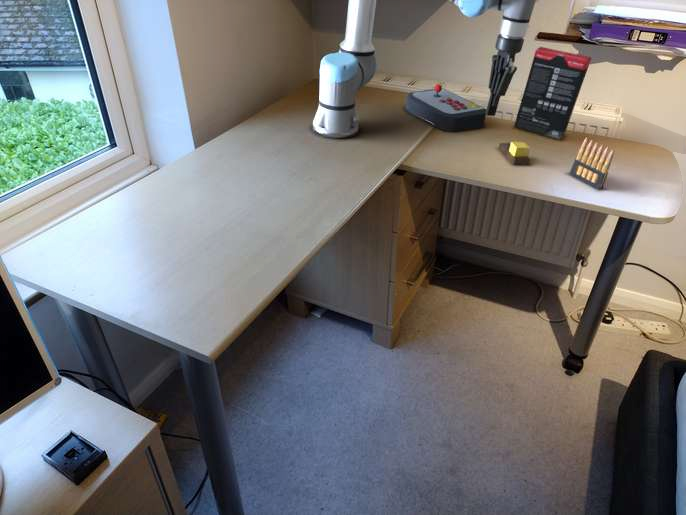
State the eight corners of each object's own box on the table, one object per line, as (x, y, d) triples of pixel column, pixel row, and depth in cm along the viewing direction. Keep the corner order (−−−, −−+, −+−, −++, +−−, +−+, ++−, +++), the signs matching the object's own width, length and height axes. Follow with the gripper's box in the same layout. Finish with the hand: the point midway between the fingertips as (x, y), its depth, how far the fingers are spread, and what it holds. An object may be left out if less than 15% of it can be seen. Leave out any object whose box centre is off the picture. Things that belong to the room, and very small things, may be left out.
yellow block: (508, 150, 160) (511, 141, 158) (521, 150, 161) (523, 142, 159) (514, 156, 157) (516, 147, 155) (526, 156, 157) (529, 147, 155)
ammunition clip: (602, 188, 147) (618, 150, 140) (598, 190, 146) (614, 151, 139) (572, 173, 154) (586, 135, 147) (568, 174, 153) (582, 136, 146)
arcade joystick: (398, 106, 192) (401, 80, 186) (437, 101, 200) (442, 75, 194) (445, 134, 173) (451, 105, 167) (487, 126, 181) (493, 98, 175)
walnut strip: (498, 148, 166) (500, 142, 165) (512, 148, 167) (514, 142, 165) (513, 165, 156) (515, 159, 155) (528, 164, 157) (530, 159, 156)
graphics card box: (565, 135, 179) (593, 55, 163) (561, 141, 174) (589, 59, 158) (518, 123, 186) (540, 45, 170) (512, 128, 181) (534, 48, 165)
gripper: (533, 42, 142) (509, 123, 156) (514, 31, 152) (493, 107, 166) (508, 41, 140) (486, 122, 155) (490, 29, 151) (471, 106, 165)
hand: (490, 114), depth 160 cm, fingers closed
